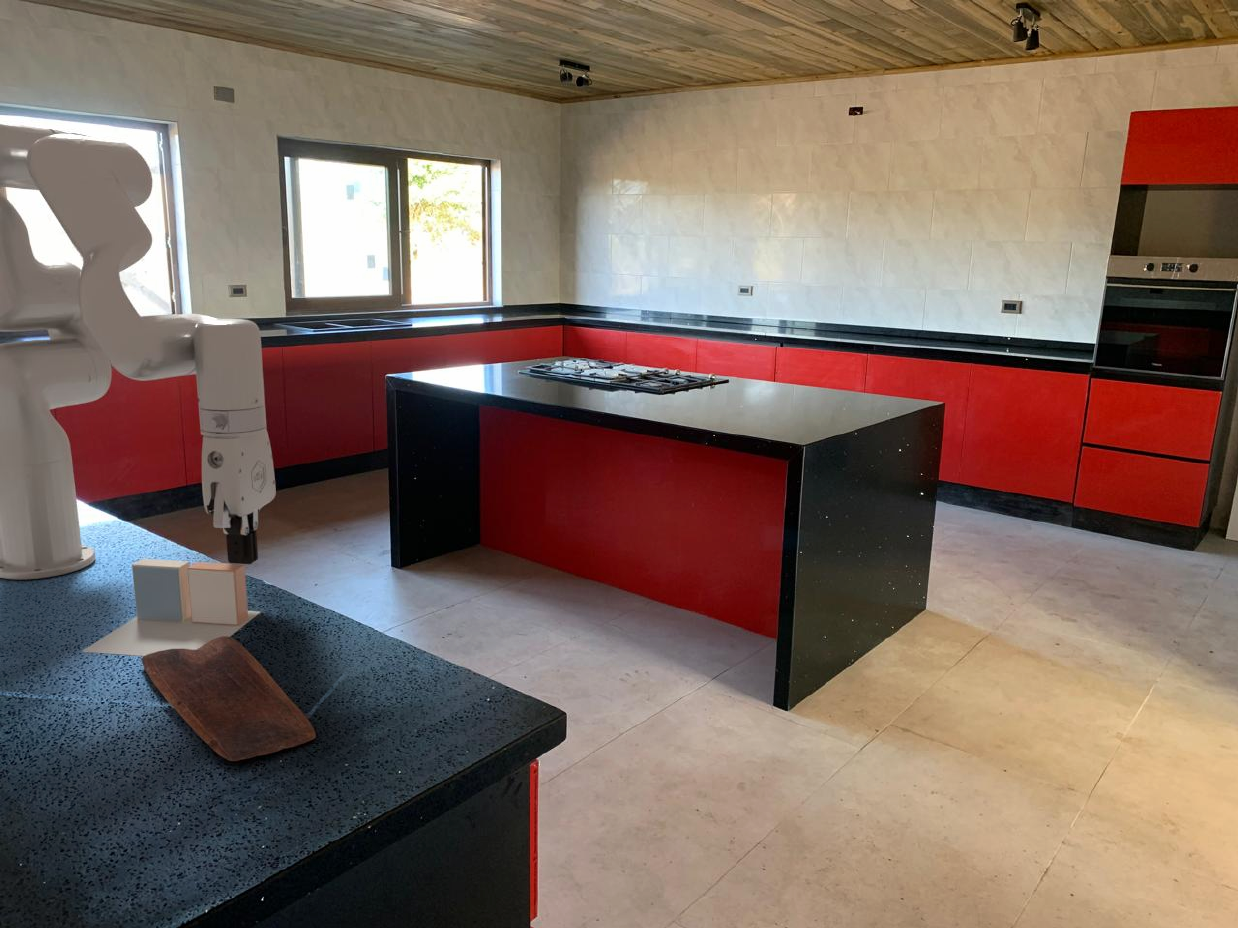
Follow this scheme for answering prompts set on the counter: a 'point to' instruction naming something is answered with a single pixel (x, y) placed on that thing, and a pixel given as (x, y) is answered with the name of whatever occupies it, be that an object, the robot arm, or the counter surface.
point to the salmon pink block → (217, 593)
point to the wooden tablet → (228, 699)
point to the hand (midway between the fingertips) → (243, 561)
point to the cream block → (162, 590)
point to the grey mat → (161, 636)
